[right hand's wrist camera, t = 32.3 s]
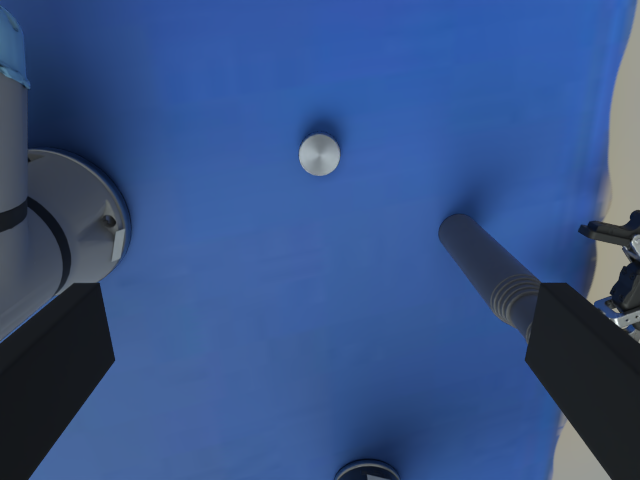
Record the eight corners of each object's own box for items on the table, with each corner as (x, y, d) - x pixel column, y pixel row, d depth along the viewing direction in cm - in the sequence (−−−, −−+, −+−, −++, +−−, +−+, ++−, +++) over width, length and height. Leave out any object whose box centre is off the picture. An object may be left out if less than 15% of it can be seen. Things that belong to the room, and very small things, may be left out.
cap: (317, 179, 44) (317, 184, 42) (291, 149, 43) (289, 152, 41) (347, 154, 44) (349, 157, 41) (322, 122, 42) (322, 124, 40)
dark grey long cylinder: (432, 242, 47) (507, 352, 28) (448, 208, 46) (537, 299, 27) (466, 254, 47) (562, 368, 29) (482, 220, 46) (595, 317, 27)
